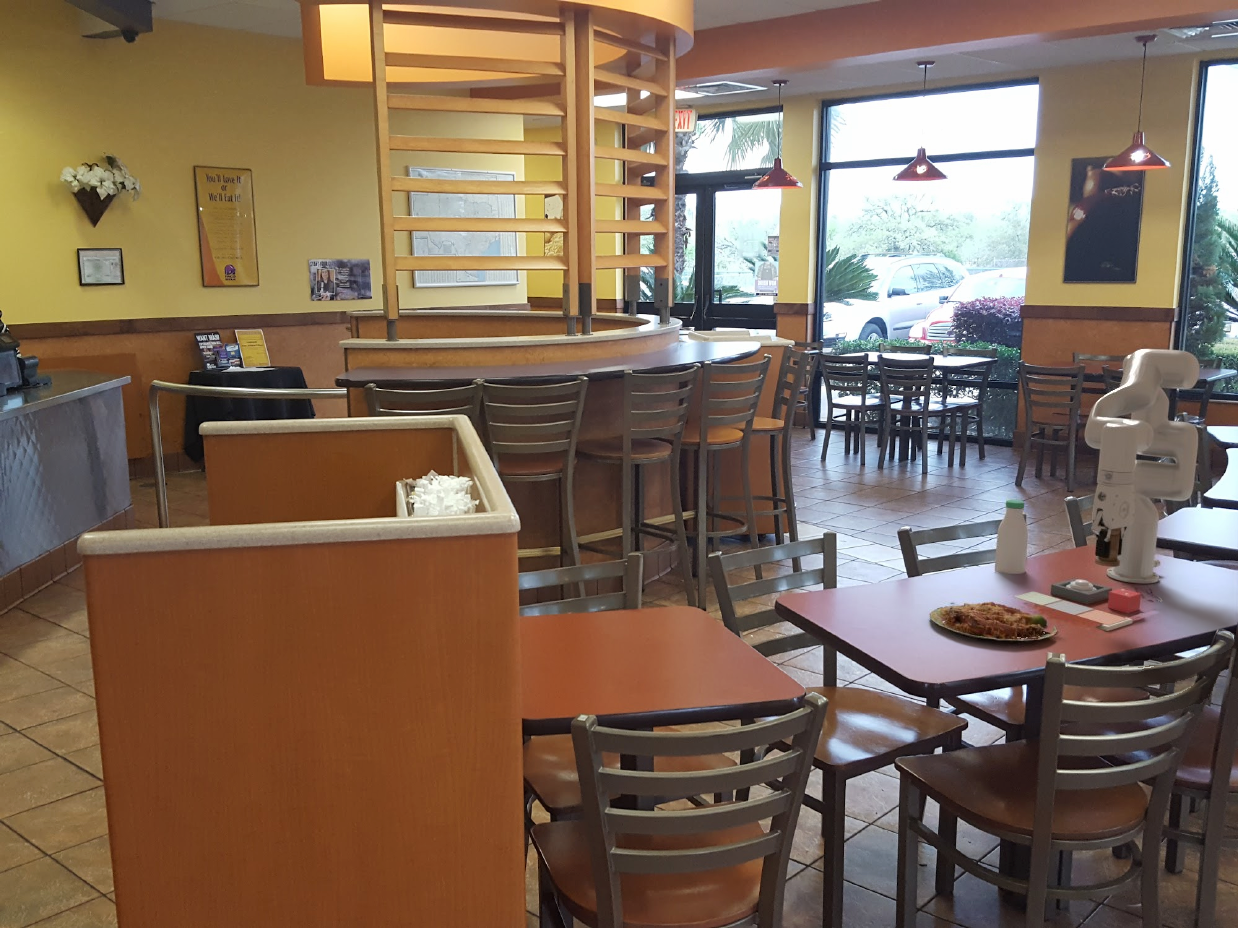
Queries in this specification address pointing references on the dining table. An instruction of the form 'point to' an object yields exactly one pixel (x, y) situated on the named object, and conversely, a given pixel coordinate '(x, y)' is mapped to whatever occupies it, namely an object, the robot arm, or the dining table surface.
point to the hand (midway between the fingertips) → (1108, 554)
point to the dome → (1081, 586)
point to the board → (1078, 610)
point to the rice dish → (991, 621)
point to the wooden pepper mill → (1111, 550)
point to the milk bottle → (1012, 540)
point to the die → (1124, 600)
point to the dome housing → (1080, 592)
